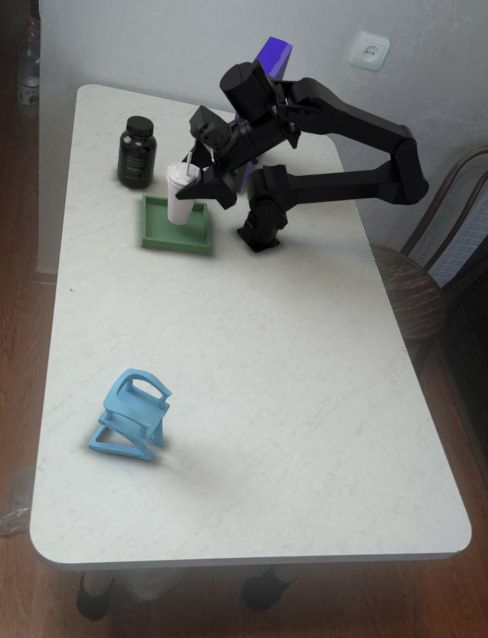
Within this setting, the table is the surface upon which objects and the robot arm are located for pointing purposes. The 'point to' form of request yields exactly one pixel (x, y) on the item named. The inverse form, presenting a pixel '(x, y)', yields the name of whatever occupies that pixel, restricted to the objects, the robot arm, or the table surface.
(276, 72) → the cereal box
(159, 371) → the table surface
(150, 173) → the supplement bottle
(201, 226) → the tray
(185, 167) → the smoothie
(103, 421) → the chair
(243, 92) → the robot arm
